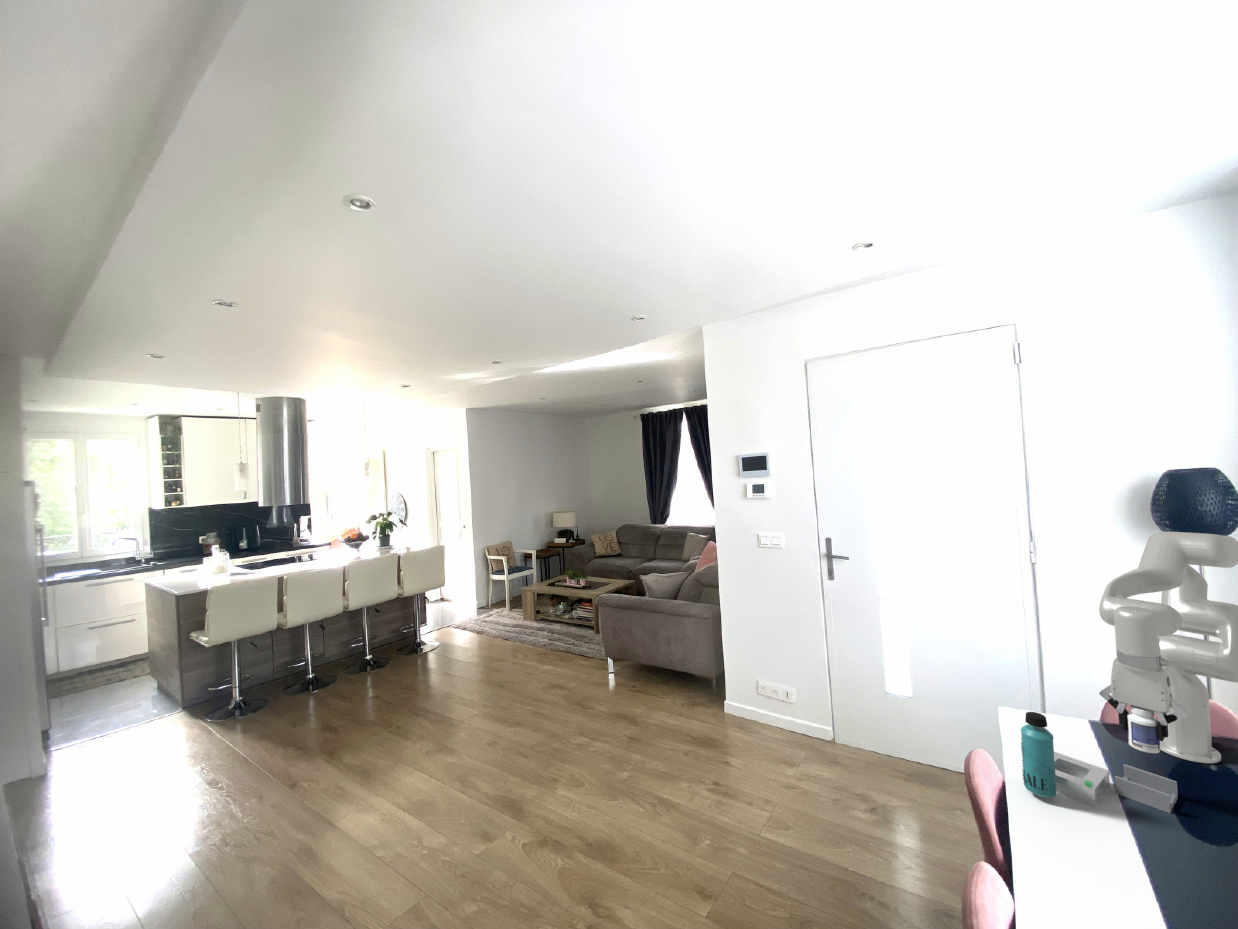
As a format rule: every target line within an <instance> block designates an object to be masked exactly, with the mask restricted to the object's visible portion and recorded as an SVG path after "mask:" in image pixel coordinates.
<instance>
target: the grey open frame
mask: <svg viewBox="0 0 1238 929" xmlns="http://www.w3.org/2000/svg"><path fill="white" fill-rule="evenodd" d="M1122 769H1123V770H1122V771H1123V772H1122V773H1123V777H1120V776H1117V775H1115V776H1114V789H1115V790H1114V791H1115V794H1116V795H1119V796H1121V797H1124V798H1128V799H1131V800H1132V801H1135V802H1137V803H1140V804H1141V803H1142V804H1144V805H1146V806H1148V807H1152V808H1155V809H1157V810H1159V811H1163V812H1165V813H1168V814H1171V812H1172V811H1173V809H1172V808H1174V807H1175V805H1174V804H1176V803H1177V800H1178V798H1179V796H1178V795H1179V794H1178V782H1177V781H1176V780H1173V779H1170V778H1169V777H1164V776H1161V775H1159V774H1156V773H1152V772H1150V771H1147V770H1143V769H1141V768H1137V767H1135V766H1132V765H1128V764H1125V763H1124V764H1123V765H1122Z"/></svg>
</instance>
